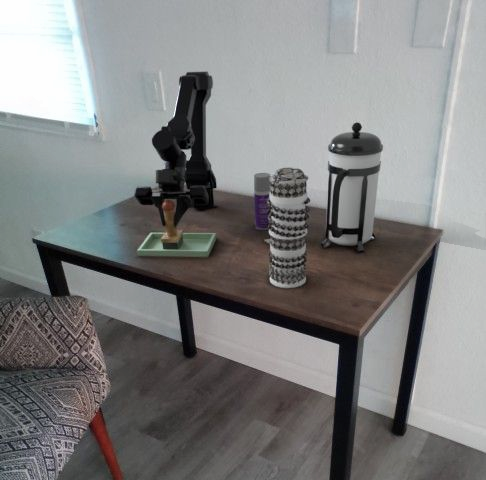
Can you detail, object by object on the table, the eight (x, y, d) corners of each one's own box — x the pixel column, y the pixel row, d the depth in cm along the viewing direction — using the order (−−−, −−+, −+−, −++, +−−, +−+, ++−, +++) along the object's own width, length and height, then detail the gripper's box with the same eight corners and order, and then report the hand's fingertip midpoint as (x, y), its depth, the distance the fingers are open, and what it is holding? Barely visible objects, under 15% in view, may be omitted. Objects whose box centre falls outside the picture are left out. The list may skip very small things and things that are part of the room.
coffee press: (308, 236, 135) (311, 120, 118) (363, 229, 137) (374, 114, 121) (329, 262, 120) (337, 134, 104) (391, 254, 122) (407, 127, 106)
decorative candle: (287, 267, 119) (287, 162, 106) (316, 279, 113) (320, 169, 100) (259, 279, 114) (256, 171, 101) (288, 293, 108) (288, 179, 95)
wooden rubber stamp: (162, 251, 129) (155, 204, 122) (168, 241, 134) (162, 196, 127) (178, 251, 128) (172, 204, 122) (184, 241, 134) (179, 196, 127)
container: (260, 231, 139) (258, 178, 131) (252, 226, 143) (250, 174, 135) (274, 227, 141) (273, 175, 133) (266, 223, 144) (265, 171, 136)
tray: (138, 257, 128) (137, 250, 126) (151, 239, 138) (150, 232, 137) (208, 258, 125) (207, 251, 124) (216, 240, 135) (216, 232, 134)
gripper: (130, 155, 123) (123, 212, 120) (202, 154, 121) (197, 212, 118) (144, 177, 134) (138, 230, 131) (211, 176, 132) (206, 231, 129)
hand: (169, 226), depth 127 cm, fingers closed on wooden rubber stamp, 3 cm apart
